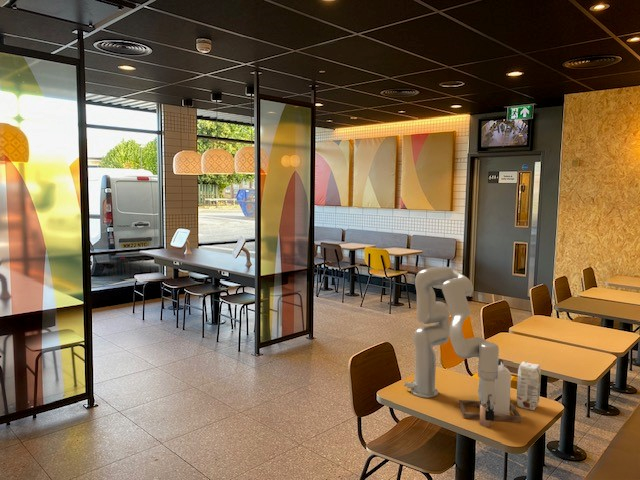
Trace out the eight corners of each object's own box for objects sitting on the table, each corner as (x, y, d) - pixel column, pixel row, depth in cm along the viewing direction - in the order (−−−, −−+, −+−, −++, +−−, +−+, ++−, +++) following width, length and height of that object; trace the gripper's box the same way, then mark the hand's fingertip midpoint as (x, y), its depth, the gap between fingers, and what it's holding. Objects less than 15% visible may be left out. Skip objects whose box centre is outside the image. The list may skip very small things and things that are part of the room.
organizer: (463, 418, 199) (463, 413, 199) (458, 404, 212) (458, 399, 212) (521, 422, 196) (521, 417, 196) (512, 407, 209) (512, 403, 209)
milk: (505, 411, 206) (508, 361, 204) (509, 417, 200) (512, 366, 198) (491, 409, 207) (493, 360, 205) (494, 416, 201) (496, 365, 199)
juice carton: (535, 412, 205) (538, 369, 203) (515, 406, 210) (517, 364, 208) (540, 405, 211) (542, 364, 209) (519, 400, 216) (521, 360, 214)
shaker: (480, 426, 192) (481, 404, 191) (478, 421, 196) (479, 399, 196) (492, 427, 191) (493, 405, 190) (490, 422, 196) (491, 400, 195)
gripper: (474, 365, 201) (473, 405, 202) (482, 381, 184) (481, 424, 185) (492, 366, 200) (491, 406, 201) (503, 382, 183) (501, 425, 184)
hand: (486, 414), depth 193 cm, fingers open, 9 cm apart
